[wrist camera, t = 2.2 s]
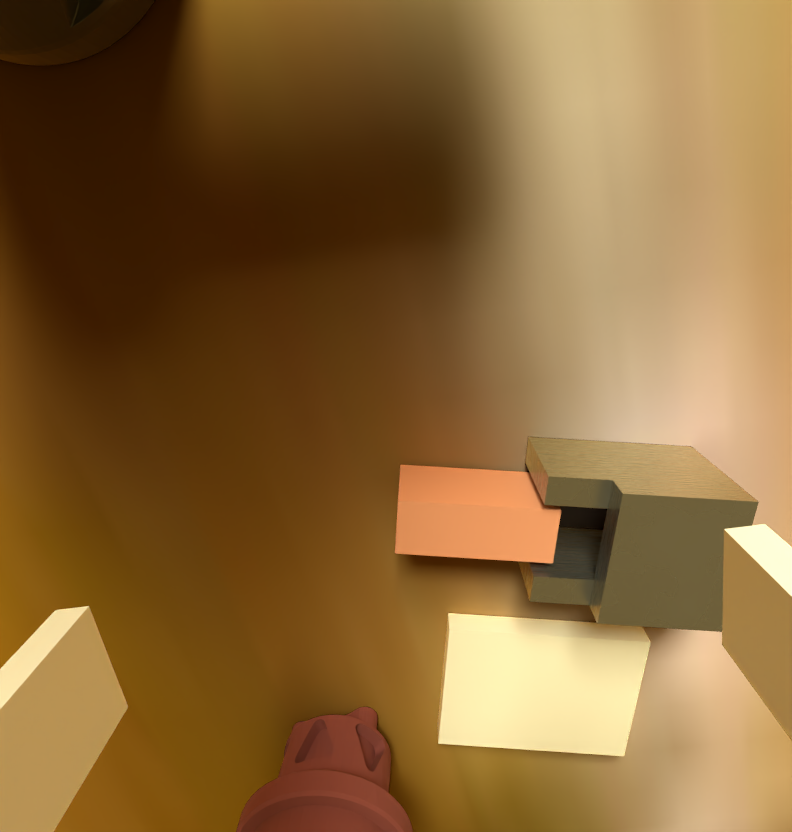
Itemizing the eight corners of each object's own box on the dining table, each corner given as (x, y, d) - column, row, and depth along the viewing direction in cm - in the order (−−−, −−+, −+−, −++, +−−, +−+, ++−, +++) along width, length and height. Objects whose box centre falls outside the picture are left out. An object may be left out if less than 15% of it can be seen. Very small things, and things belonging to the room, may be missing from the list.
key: (397, 511, 33) (395, 553, 29) (400, 464, 32) (398, 500, 28) (535, 520, 33) (552, 563, 29) (542, 473, 32) (561, 510, 28)
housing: (513, 546, 34) (535, 619, 28) (528, 436, 32) (555, 489, 26) (665, 556, 34) (721, 631, 28) (691, 446, 32) (758, 501, 26)
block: (437, 724, 39) (438, 743, 37) (448, 613, 36) (449, 629, 34) (616, 736, 39) (623, 756, 37) (641, 625, 36) (650, 642, 34)
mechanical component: (239, 734, 40) (333, 650, 37) (347, 809, 42) (444, 734, 39) (165, 948, 28) (295, 847, 25) (320, 1038, 30) (456, 953, 27)
